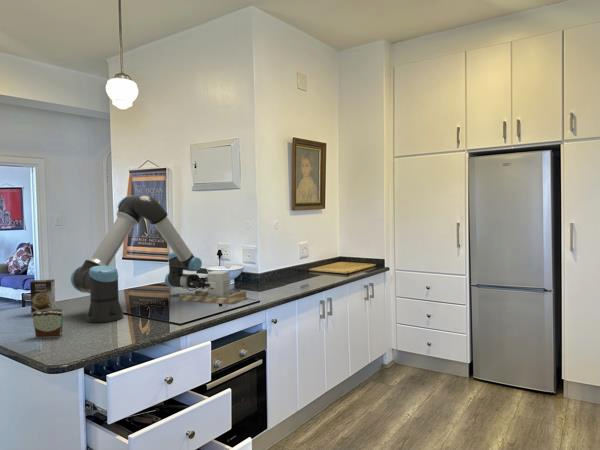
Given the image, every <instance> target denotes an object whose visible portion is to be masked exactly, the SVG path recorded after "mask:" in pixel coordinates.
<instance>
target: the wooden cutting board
mask: <svg viewBox="0 0 600 450" xmlns="http://www.w3.org/2000/svg"><path fill="white" fill-rule="evenodd" d="M194 294H195V295H190V294H189V295H188V294H180V295H179V301H185V302H186V301H188V302H198V303H210V304H212V303H213V304H222V305H233V304H235V303H238V302H241V301H243V300H245V299H247V290H240V291H238V292H235V290H234V289H230V295H229V296H227V298H218V297H217V296H208V290H204V289H202V290H200V289H196V290H195V291H194ZM232 303H233V304H232Z"/></svg>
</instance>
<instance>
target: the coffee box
mask: <svg viewBox="0 0 600 450" xmlns="http://www.w3.org/2000/svg"><path fill="white" fill-rule="evenodd" d="M55 285H56V284H55V279H37V280H36V279H34V280H32V281H30V282H29V287H30V313H31V314H32V312H35V311H39V310H44V309H56V287H55ZM31 314H30V315H31Z"/></svg>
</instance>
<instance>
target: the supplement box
mask: <svg viewBox="0 0 600 450" xmlns="http://www.w3.org/2000/svg"><path fill="white" fill-rule="evenodd" d="M207 277H208V282H214V283H216V288H207V291H208V296H217V297H218V298H227V296H229V295H230V290H231V289H230V288H231V287H230V284H231V283H229V278H230V270H212V271H210V272H209V271H208V272H207Z"/></svg>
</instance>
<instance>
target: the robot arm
mask: <svg viewBox="0 0 600 450" xmlns="http://www.w3.org/2000/svg"><path fill="white" fill-rule="evenodd" d="M117 208H118V209H117V212H116V217H117V218H116V220H115V221H114V222H113V224H112V225H111V227H110V228H109V230H108V232H107V233H106V235H105V236H104V238H103V239H102V240H101V242H100V243H99V245H98V247H97V249H96V250H95V251H94V253H93V255H92V256H91V258H87V259H85V260H84V262H83V264H82V265H81V266H79V267H77V268H75V269H74V270H73V272H72V273H71V276H70V282H71V283H70V284H71V285H72V286H73V288H74V289H75V290H76V291H79V292H81V293H83V294H84V293H87V294H89V297H90V302H89V303H90V304H89V308H88V310H87V314H86V322H88V323H92V324H94V323H97V324H98V323H99V324H100V323H110V322H113V321H119V320H121V319H123V318H124V310H123V308H122V306H121V302H120V299H119V296H120V295H119V274H118V269H117V268H116V267H114V266H111V265H110V264H111V262H112V261H113V259H114V258H115V256H116V255H117V253H118V252H119V250H120V248H121V247H122V246H123V245H122V244H123V243H124V242H125V241H126V239H127V237H128V236H129V234H130V233H131V231H132V229H133V227H136V226H138V225H139V224H140V222H141V221H142V219H145V220H147V222H149V224H150V225H151V226H154V227H155V228H156V230H157V231H158V233H159V234H160V235H161V237H162V239H163V240H164V241H165V242H166V244H167V245H168V247H169V248H170V250H172V251H171V252H169V253H168V268H169V269H168V272H169V273H167V274H165V278H164V283H165V285H166V286H167V287H173V288H185V289H202V290H204V289H205V288H207V289H208V288H216V283H214V282H208V276H206V277H200V275H199V274H196V273H195V274H193V273H184V271H188V272H197V271H199V270H200V269H201V268H202V265H203V264H202V260H201V258H199V257H197V256H195V255H194V254H193V252H192V251H191V250H190V248H189V247H188V245H187V244H186V242H185V241H184V240H183V238H182V237H181V235H180V233H179V232H178V230H177V229H176V228H175V227H174V225H173V223H172V222H171V220H170V219H169V218H168V215H169V214H168V212H167V211H166V209H165V208H164V207H163V206H162V204H161V203H160V202H159V201H158V200H157V199H156V198H155V197H153V196H150V195H148V194H140V195H136V194H135V195H134V194H131V195H130V194H129V195H128V196H127V195H126V196H124V197H123V198H121V200H120V201H119V202H118V204H117ZM231 279H232V278H230V277H229V283H230V284H231V283H232V282H231V281H232V280H231Z"/></svg>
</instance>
